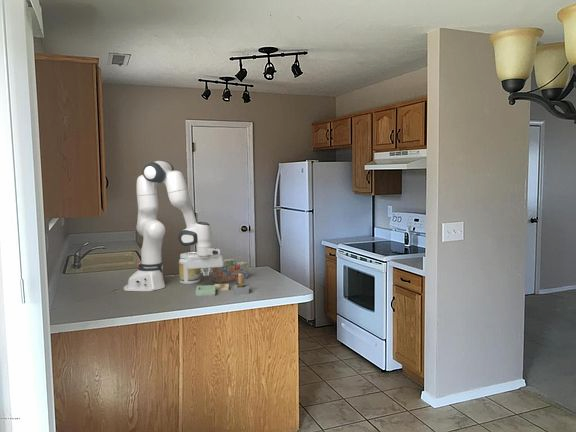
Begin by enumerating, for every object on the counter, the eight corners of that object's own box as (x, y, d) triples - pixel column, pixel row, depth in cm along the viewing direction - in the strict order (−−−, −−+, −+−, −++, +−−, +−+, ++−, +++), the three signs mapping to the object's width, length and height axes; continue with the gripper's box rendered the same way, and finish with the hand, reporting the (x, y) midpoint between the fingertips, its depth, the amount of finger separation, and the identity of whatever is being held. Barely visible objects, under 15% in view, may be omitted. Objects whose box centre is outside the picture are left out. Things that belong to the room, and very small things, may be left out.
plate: (213, 291, 270) (213, 286, 270) (214, 288, 276) (214, 284, 276) (228, 290, 271) (228, 286, 271) (228, 288, 277) (228, 283, 277)
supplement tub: (202, 279, 295) (202, 252, 293) (197, 284, 283) (196, 256, 281) (183, 279, 296) (182, 252, 294) (176, 284, 284) (175, 255, 282)
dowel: (238, 292, 265) (238, 274, 264) (238, 291, 268) (238, 273, 267) (244, 292, 265) (244, 274, 264) (244, 290, 269) (244, 273, 267)
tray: (195, 296, 258) (195, 290, 258) (197, 291, 268) (197, 285, 268) (215, 295, 259) (214, 289, 259) (215, 290, 269) (215, 285, 269)
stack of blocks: (243, 276, 305) (243, 256, 304) (248, 277, 300) (248, 258, 299) (212, 280, 293) (212, 260, 292) (217, 282, 288) (217, 262, 286)
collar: (234, 293, 262) (233, 288, 262) (234, 290, 270) (234, 284, 270) (249, 293, 263) (248, 288, 263) (248, 289, 271) (248, 284, 271)
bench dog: (236, 289, 272) (236, 278, 271) (236, 287, 277) (236, 276, 276) (242, 289, 272) (242, 278, 272) (242, 287, 277) (241, 276, 277)
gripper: (185, 253, 266) (186, 278, 267) (222, 251, 268) (224, 275, 269) (186, 251, 272) (187, 275, 274) (223, 249, 274) (224, 273, 276)
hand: (206, 275), depth 272 cm, fingers closed
